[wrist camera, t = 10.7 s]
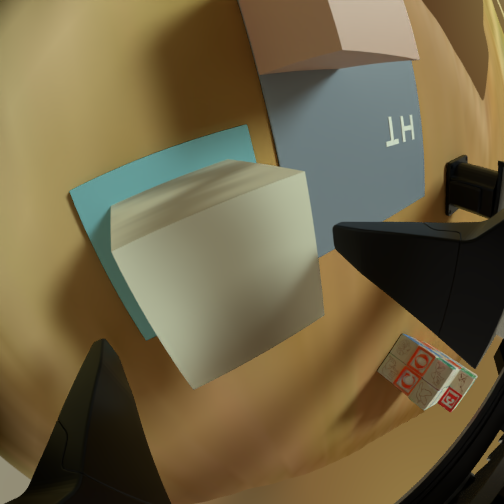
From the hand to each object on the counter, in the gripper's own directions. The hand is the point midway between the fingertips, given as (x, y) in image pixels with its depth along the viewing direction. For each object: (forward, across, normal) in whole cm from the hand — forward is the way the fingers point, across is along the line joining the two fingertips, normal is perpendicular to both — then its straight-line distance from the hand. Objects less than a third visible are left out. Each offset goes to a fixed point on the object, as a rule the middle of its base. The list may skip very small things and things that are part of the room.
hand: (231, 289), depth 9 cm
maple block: (+6, 0, 0) cm, 6 cm away
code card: (+6, -14, -5) cm, 16 cm away
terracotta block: (+6, -9, -10) cm, 15 cm away
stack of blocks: (+6, -25, +33) cm, 42 cm away
